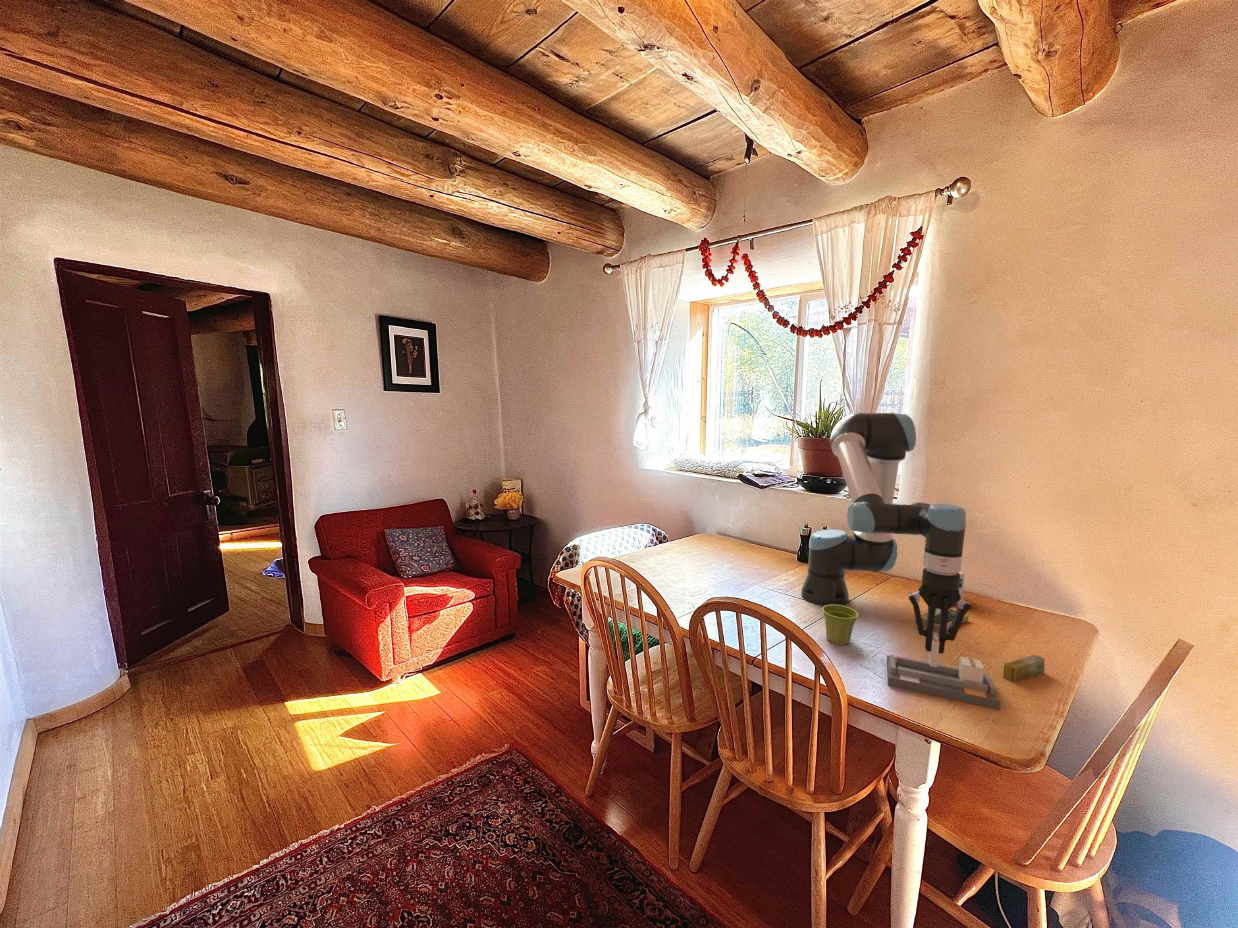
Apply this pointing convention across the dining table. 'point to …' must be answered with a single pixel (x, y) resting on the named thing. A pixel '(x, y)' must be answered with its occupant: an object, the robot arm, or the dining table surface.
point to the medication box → (1024, 668)
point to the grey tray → (940, 681)
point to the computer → (937, 618)
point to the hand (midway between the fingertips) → (932, 664)
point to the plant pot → (839, 623)
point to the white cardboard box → (970, 670)
